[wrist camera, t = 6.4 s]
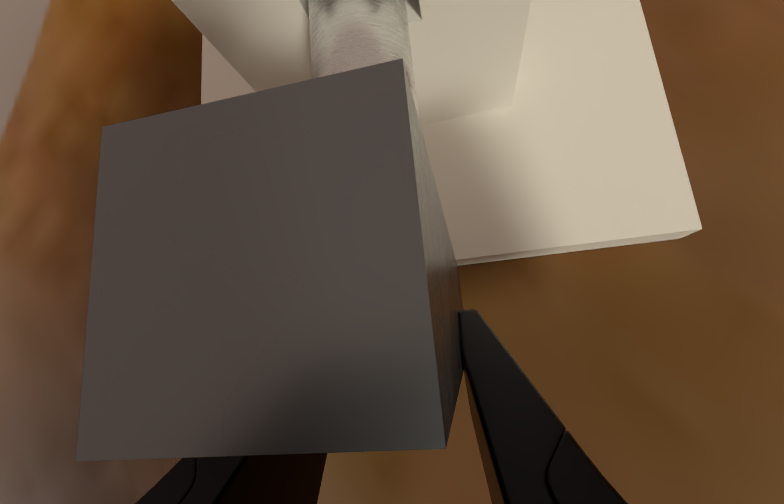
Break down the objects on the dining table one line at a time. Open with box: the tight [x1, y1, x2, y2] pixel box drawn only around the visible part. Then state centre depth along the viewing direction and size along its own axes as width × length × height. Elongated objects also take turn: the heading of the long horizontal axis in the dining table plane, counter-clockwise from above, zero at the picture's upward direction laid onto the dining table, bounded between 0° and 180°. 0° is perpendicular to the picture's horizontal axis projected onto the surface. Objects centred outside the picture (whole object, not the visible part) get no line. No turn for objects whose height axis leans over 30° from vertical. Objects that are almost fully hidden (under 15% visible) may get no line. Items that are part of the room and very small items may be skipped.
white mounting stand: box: [171, 0, 702, 266], centre depth 13 cm, size 15×20×11 cm
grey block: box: [76, 0, 464, 461], centre depth 10 cm, size 12×3×12 cm, turn 5°
